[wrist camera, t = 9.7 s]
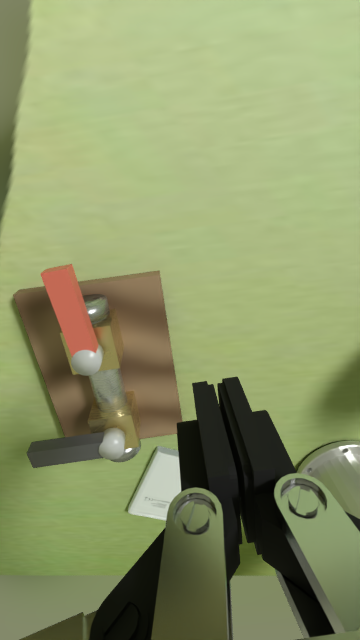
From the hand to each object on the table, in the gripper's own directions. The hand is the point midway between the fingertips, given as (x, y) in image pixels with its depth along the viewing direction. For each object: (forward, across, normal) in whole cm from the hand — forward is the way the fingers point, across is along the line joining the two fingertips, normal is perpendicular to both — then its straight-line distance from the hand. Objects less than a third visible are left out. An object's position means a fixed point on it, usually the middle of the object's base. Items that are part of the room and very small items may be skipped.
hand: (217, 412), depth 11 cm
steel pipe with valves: (+20, +9, +10) cm, 24 cm away
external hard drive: (+22, +5, +30) cm, 38 cm away
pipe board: (+21, +9, +10) cm, 25 cm away
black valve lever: (+15, +13, +15) cm, 25 cm away
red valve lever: (+15, +9, +1) cm, 18 cm away
